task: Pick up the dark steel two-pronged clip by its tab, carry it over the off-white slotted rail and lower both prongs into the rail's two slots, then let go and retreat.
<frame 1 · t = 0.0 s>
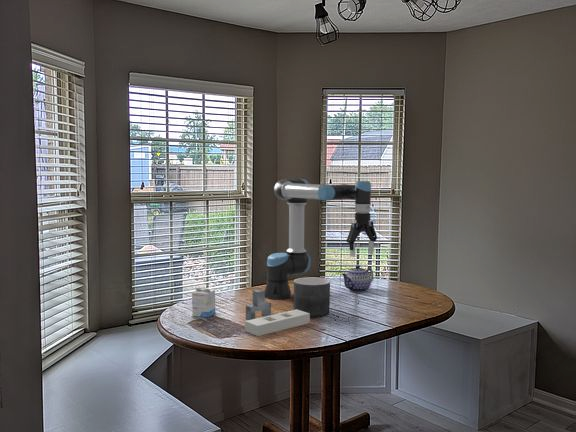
hand: (361, 255, 259), 28 cm above the table, fingers open, 13 cm apart
clip: (258, 317, 247), on the table
dark gray cylinder: (311, 312, 257), on the table
teapot: (357, 290, 305), on the table
ink box: (204, 315, 252), on the table
rail: (278, 326, 233), on the table
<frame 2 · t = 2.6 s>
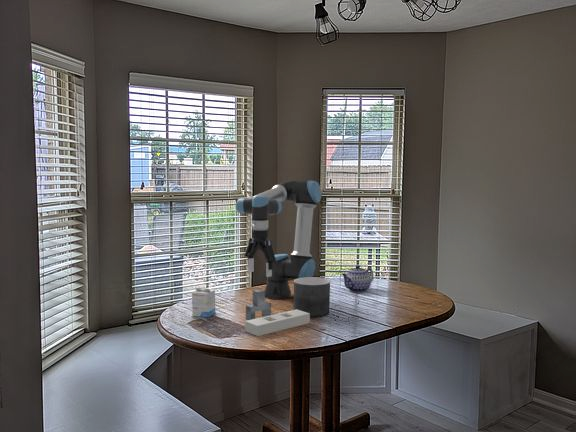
hand: (259, 274, 245), 21 cm above the table, fingers open, 13 cm apart
nothing on the table moved.
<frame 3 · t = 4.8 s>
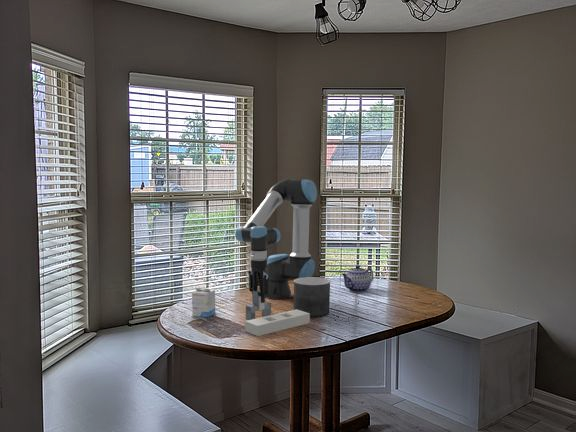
hand: (258, 308, 247), 5 cm above the table, fingers closed on clip, 4 cm apart
clip: (258, 317, 247), on the table, touching gripper
everything else where it was.
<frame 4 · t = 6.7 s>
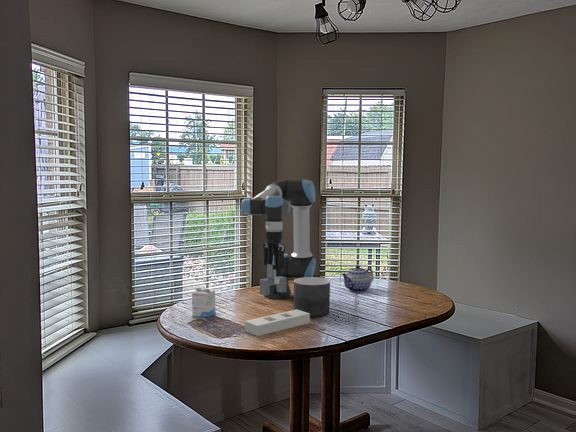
hand: (273, 282, 233), 20 cm above the table, fingers closed on clip, 4 cm apart
clip: (273, 292, 234), point 15 cm above the table, touching gripper
everything else where it was.
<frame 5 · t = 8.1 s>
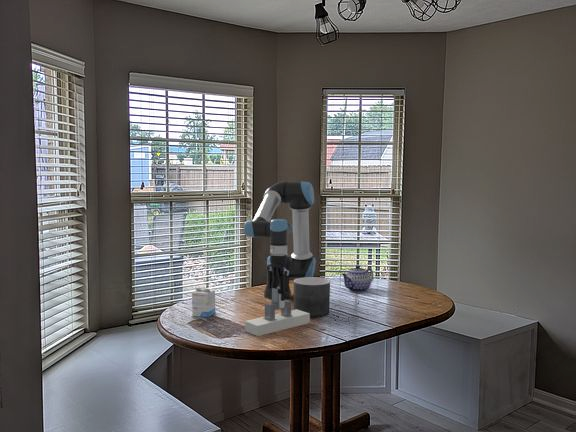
hand: (278, 306, 232), 9 cm above the table, fingers closed on clip, 4 cm apart
clip: (278, 316, 232), point 5 cm above the table, touching gripper
everything else where it was.
when the fingers open (6 cm above the table, at t = 8.9 s): clip stays where it is, resting on rail.
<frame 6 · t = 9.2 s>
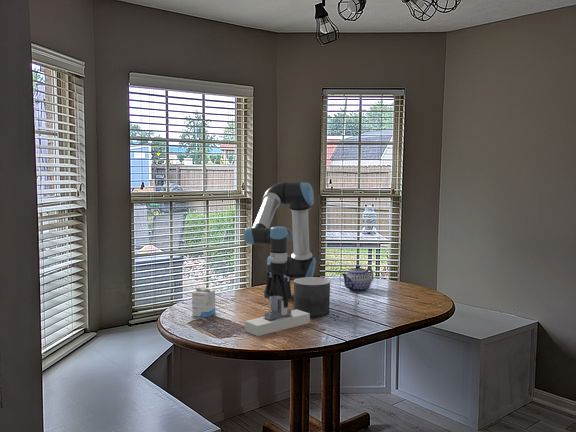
hand: (278, 312, 232), 7 cm above the table, fingers open, 8 cm apart
clip: (278, 325, 233), resting on rail
everything else where it was.
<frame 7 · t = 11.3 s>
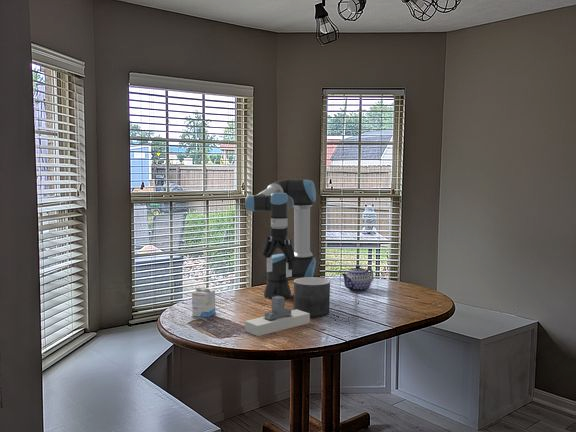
hand: (279, 274, 235), 23 cm above the table, fingers open, 13 cm apart
nothing on the table moved.
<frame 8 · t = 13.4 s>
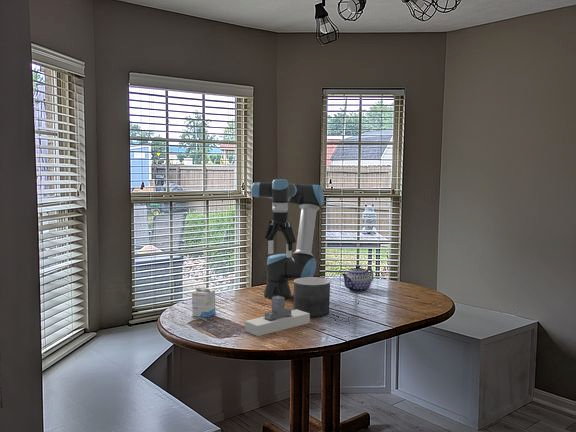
hand: (279, 255, 252), 29 cm above the table, fingers open, 13 cm apart
nothing on the table moved.
at the end: clip 0.0 cm off-centre on the rail, point 0.5 cm above the rail's base; clip tilted 0°; the gripper is holding nothing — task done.
